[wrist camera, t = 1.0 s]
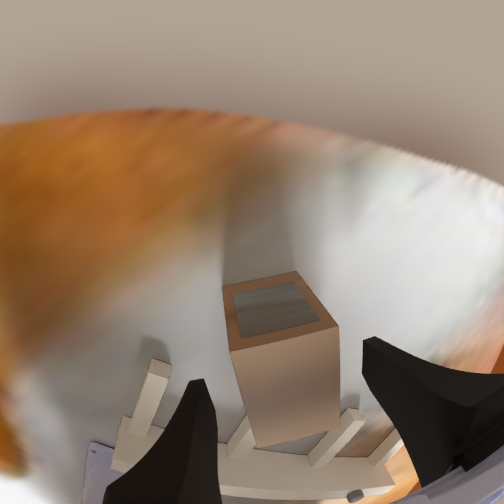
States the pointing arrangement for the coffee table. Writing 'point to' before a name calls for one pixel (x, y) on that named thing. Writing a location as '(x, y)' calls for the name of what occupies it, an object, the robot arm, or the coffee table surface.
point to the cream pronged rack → (267, 455)
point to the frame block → (283, 358)
